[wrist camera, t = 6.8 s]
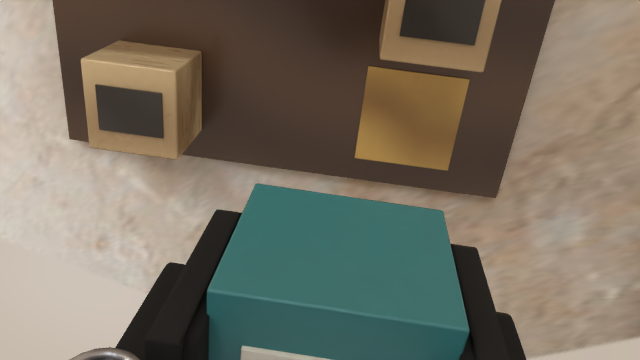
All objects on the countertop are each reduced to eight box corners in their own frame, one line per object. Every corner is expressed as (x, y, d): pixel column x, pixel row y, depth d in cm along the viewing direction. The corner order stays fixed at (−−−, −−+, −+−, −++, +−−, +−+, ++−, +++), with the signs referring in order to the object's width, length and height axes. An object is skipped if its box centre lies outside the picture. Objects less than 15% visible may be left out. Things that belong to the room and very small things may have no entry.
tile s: (255, 182, 11) (203, 294, 8) (443, 209, 11) (472, 334, 8) (246, 325, 13) (201, 464, 10) (408, 350, 13) (418, 501, 9)
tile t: (394, -59, 22) (397, -54, 18) (492, -47, 21) (512, -40, 18) (379, 40, 23) (379, 60, 20) (468, 51, 23) (484, 74, 20)
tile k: (118, 39, 24) (78, 58, 21) (202, 50, 24) (175, 71, 21) (123, 119, 26) (87, 149, 23) (202, 130, 26) (176, 161, 23)
